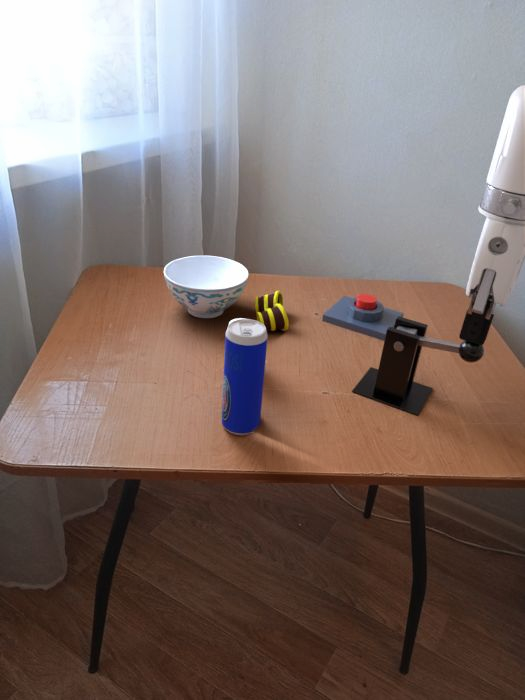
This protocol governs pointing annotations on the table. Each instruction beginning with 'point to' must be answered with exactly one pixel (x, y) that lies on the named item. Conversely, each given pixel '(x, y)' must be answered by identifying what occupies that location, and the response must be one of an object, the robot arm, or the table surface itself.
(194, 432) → the table surface
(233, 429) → the beverage can
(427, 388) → the switch bracket
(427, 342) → the switch lever
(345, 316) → the switch box
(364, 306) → the button
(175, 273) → the chinaware
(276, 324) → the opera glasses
